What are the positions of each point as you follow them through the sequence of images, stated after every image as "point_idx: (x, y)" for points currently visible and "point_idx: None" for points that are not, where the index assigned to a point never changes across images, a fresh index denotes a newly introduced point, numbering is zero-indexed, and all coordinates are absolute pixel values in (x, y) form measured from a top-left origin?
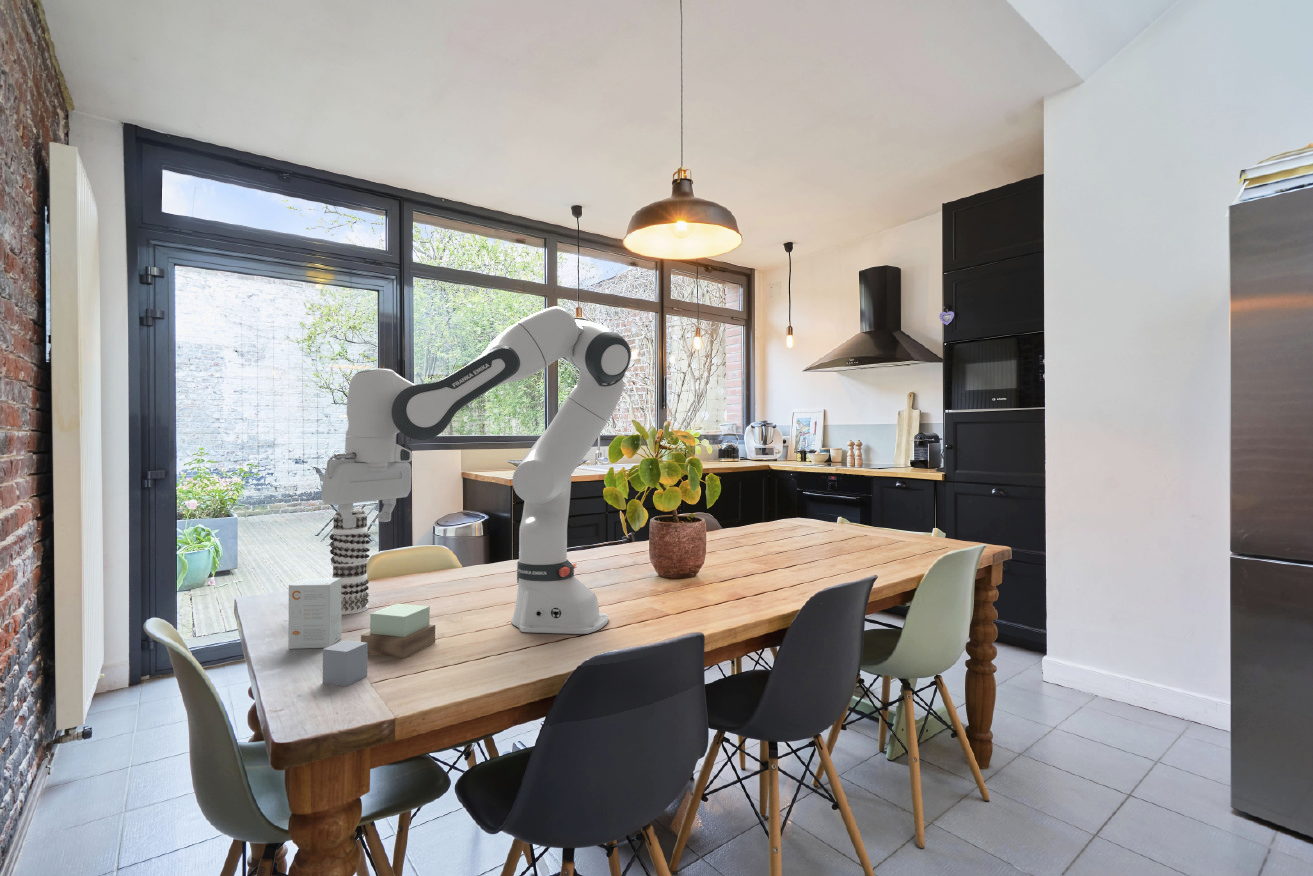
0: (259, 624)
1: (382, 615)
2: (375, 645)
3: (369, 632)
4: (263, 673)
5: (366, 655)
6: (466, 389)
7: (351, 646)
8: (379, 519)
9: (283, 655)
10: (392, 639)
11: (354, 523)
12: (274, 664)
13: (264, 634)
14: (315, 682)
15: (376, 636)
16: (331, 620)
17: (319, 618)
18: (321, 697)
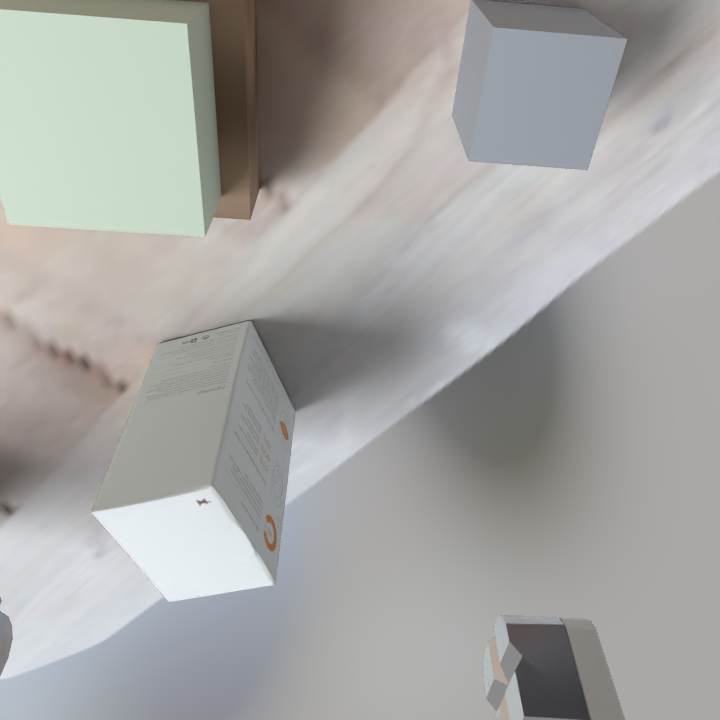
0: None
1: (200, 169)
2: (253, 134)
3: None
4: (484, 346)
5: (489, 16)
6: None
7: (553, 68)
8: (3, 655)
9: (343, 391)
10: (246, 52)
11: (539, 650)
12: (414, 366)
13: None
14: None
15: (244, 146)
16: (222, 379)
17: (250, 410)
18: (685, 32)
